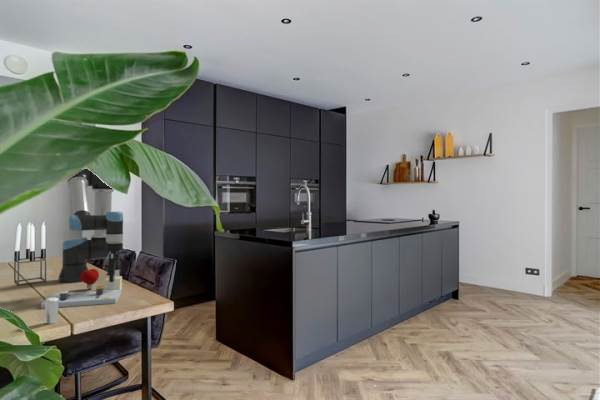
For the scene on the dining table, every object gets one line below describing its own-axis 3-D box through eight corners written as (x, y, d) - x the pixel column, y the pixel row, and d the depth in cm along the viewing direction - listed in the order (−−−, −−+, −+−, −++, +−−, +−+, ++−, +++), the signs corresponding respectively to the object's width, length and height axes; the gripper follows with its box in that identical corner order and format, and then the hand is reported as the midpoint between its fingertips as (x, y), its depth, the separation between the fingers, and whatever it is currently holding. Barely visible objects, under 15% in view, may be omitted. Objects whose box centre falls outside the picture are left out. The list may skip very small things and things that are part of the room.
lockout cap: (107, 290, 180) (108, 276, 180) (121, 289, 182) (121, 276, 182) (105, 293, 174) (105, 279, 174) (119, 292, 176) (119, 278, 176)
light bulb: (88, 292, 176) (88, 271, 176) (76, 291, 178) (76, 271, 178) (102, 287, 186) (102, 268, 186) (90, 286, 187) (91, 267, 187)
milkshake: (55, 324, 130) (55, 297, 130) (41, 324, 131) (41, 296, 131) (64, 320, 135) (64, 294, 135) (50, 320, 135) (50, 293, 135)
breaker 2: (97, 293, 167) (97, 286, 167) (103, 292, 167) (103, 286, 167) (96, 294, 164) (96, 287, 164) (102, 294, 165) (102, 287, 165)
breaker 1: (61, 298, 157) (61, 291, 157) (68, 297, 158) (68, 290, 158) (59, 299, 155) (59, 292, 155) (66, 299, 155) (66, 292, 155)
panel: (53, 297, 165) (54, 293, 165) (121, 293, 175) (121, 289, 175) (40, 308, 149) (40, 303, 149) (115, 303, 159) (115, 298, 159)
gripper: (110, 240, 189) (109, 281, 188) (101, 245, 165) (100, 291, 165) (126, 240, 191) (125, 280, 191) (119, 244, 168) (118, 290, 167)
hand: (113, 285), depth 178 cm, fingers open, 13 cm apart
